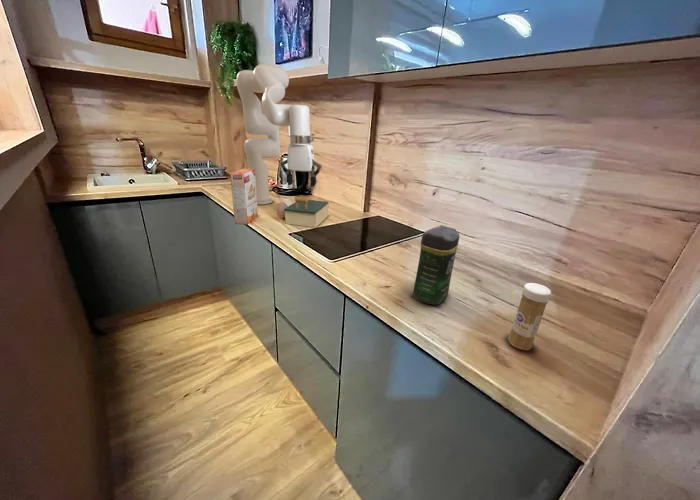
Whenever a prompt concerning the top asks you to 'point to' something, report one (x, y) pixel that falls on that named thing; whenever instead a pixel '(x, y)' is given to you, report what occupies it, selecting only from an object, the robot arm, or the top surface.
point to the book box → (306, 217)
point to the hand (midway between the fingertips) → (301, 185)
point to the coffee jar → (435, 264)
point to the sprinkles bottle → (529, 315)
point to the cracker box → (244, 195)
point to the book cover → (306, 205)
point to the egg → (281, 209)
